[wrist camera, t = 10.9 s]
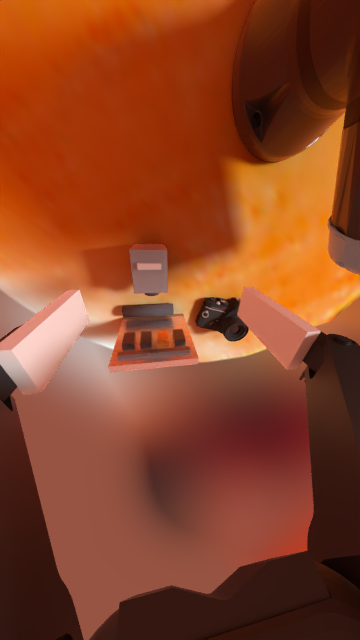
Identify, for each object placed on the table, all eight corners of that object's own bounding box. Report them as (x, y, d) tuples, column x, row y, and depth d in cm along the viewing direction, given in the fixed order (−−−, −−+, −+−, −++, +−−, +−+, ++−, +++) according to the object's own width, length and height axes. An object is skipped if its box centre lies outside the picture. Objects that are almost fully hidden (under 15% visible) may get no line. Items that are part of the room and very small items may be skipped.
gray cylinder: (125, 314, 34) (123, 319, 32) (123, 303, 32) (121, 309, 30) (172, 311, 35) (173, 317, 33) (172, 301, 34) (173, 306, 32)
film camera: (192, 337, 33) (227, 306, 27) (189, 312, 38) (217, 281, 32) (237, 353, 39) (273, 330, 33) (228, 330, 44) (258, 306, 38)
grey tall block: (134, 243, 27) (128, 250, 20) (163, 243, 28) (167, 250, 21) (138, 283, 31) (134, 301, 24) (164, 282, 32) (168, 300, 24)
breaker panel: (122, 312, 33) (106, 361, 22) (183, 309, 35) (199, 353, 23) (125, 329, 36) (112, 381, 24) (182, 325, 37) (196, 372, 26)
